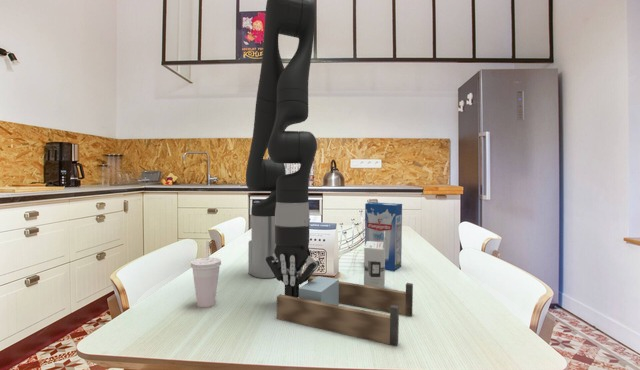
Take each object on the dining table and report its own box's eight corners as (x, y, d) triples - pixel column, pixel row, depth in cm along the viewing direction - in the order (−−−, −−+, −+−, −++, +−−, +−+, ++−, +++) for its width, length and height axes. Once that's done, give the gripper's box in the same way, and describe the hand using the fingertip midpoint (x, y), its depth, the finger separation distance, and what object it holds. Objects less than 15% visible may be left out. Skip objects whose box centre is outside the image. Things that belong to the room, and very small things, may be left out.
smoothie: (227, 300, 75) (227, 239, 75) (208, 311, 69) (208, 245, 69) (203, 297, 77) (203, 237, 77) (184, 307, 71) (183, 243, 71)
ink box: (365, 285, 87) (366, 229, 87) (384, 286, 86) (385, 229, 86) (363, 296, 79) (363, 234, 78) (384, 298, 78) (385, 235, 77)
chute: (276, 318, 66) (276, 286, 66) (309, 295, 79) (310, 268, 79) (396, 346, 56) (397, 308, 56) (412, 314, 69) (412, 283, 69)
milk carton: (401, 266, 105) (402, 203, 104) (394, 271, 100) (395, 205, 99) (372, 262, 110) (372, 202, 110) (364, 266, 105) (365, 203, 104)
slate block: (298, 317, 67) (298, 288, 67) (318, 302, 75) (318, 276, 75) (320, 322, 65) (321, 292, 65) (338, 306, 73) (338, 279, 73)
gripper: (257, 222, 72) (256, 301, 73) (311, 227, 66) (310, 312, 67) (276, 218, 79) (276, 291, 79) (326, 222, 73) (326, 300, 73)
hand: (291, 300), depth 73 cm, fingers closed
